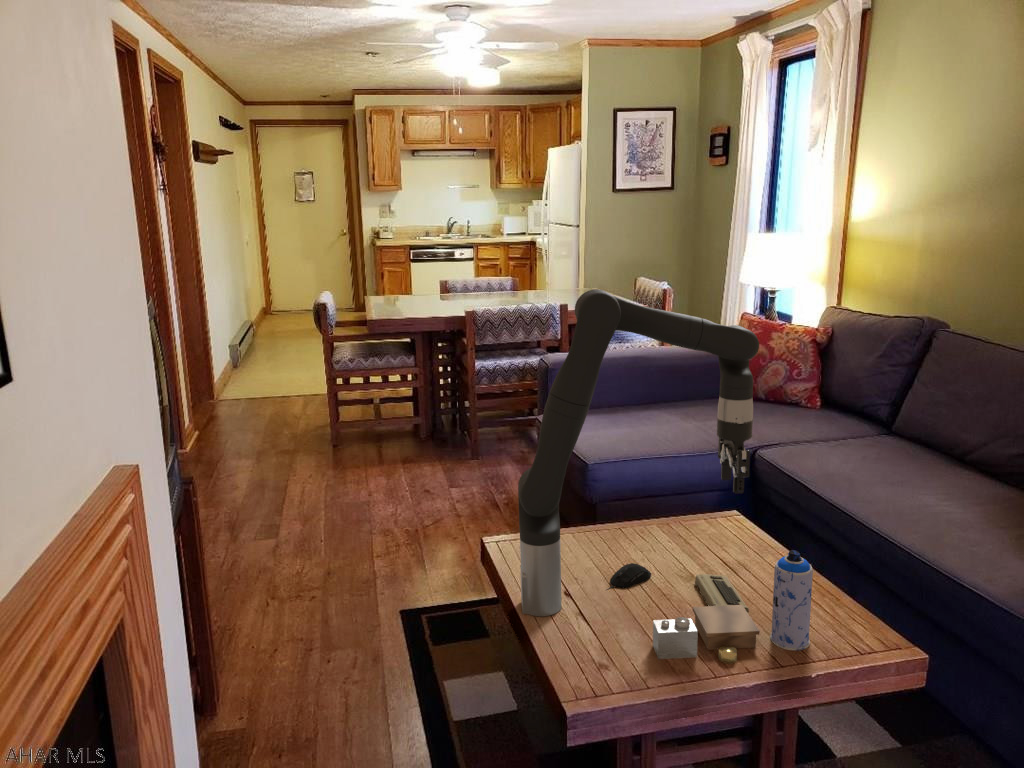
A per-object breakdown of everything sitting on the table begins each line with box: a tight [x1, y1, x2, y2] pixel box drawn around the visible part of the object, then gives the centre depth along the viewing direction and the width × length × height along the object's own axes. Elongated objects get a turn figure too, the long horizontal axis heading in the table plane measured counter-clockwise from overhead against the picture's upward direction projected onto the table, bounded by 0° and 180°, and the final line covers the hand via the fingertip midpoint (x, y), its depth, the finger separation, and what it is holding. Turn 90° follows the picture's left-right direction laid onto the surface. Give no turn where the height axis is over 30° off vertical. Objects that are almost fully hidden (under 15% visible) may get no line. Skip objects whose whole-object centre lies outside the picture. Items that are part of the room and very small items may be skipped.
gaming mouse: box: [604, 563, 652, 591], centre depth 192 cm, size 6×15×4 cm, turn 128°
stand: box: [692, 605, 761, 651], centre depth 166 cm, size 11×11×4 cm
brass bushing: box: [717, 645, 738, 665], centre depth 158 cm, size 4×4×2 cm
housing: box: [652, 616, 699, 660], centre depth 160 cm, size 8×5×7 cm, turn 92°
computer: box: [694, 573, 750, 614], centre depth 182 cm, size 16×8×3 cm, turn 2°
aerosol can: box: [770, 549, 814, 651], centre depth 161 cm, size 8×8×20 cm
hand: (732, 486), depth 175 cm, fingers open, 8 cm apart
